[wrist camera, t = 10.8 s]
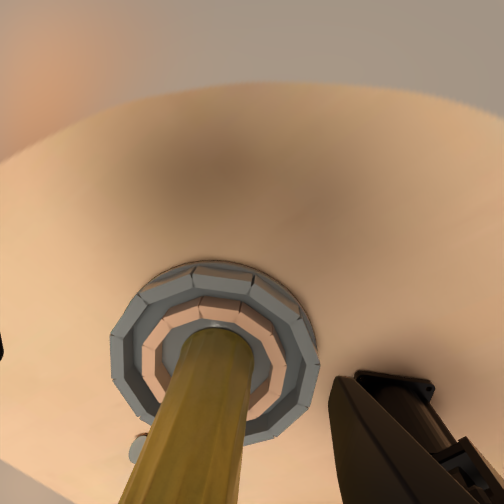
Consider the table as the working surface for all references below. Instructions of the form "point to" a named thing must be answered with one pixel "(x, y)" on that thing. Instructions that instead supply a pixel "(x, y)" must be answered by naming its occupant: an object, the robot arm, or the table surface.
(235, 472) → the vase
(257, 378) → the grooved tray
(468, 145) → the table surface
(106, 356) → the table surface
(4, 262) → the table surface
